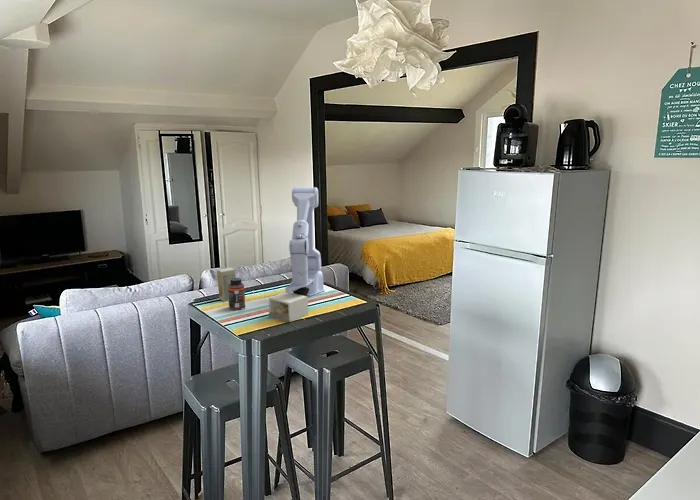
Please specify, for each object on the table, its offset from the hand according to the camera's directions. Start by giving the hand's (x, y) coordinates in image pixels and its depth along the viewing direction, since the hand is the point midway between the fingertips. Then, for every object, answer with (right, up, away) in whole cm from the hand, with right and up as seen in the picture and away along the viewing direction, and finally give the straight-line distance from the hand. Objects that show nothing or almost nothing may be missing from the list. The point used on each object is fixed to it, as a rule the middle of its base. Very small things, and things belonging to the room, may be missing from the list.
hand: (301, 307), depth 177 cm
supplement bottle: (-24, -1, +4) cm, 25 cm away
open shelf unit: (-4, -2, -4) cm, 6 cm away
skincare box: (-31, +1, +15) cm, 34 cm away
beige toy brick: (-4, -2, -3) cm, 6 cm away
